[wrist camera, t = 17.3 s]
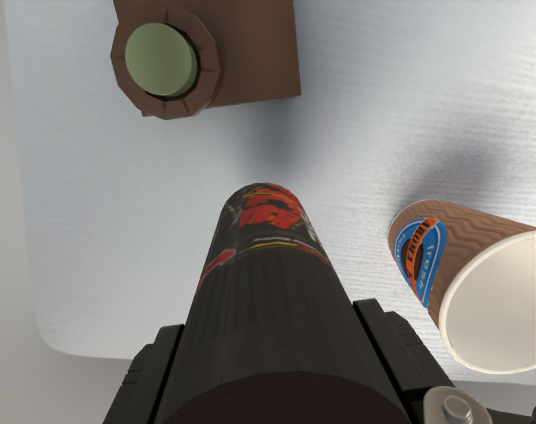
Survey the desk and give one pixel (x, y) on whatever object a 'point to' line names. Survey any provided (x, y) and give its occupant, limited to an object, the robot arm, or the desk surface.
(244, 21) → the button housing
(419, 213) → the coffee cup
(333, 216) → the desk surface
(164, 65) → the green short cylinder
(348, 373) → the deodorant
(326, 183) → the desk surface
